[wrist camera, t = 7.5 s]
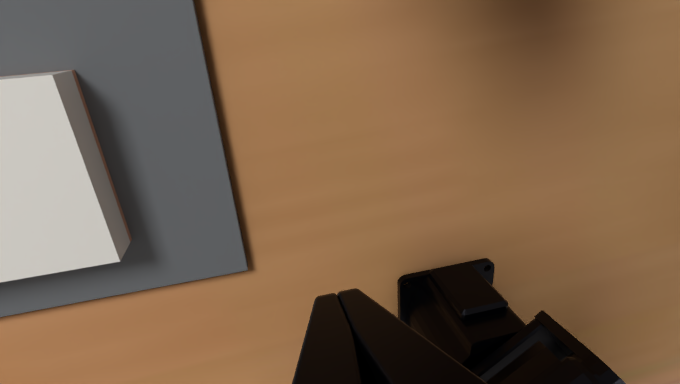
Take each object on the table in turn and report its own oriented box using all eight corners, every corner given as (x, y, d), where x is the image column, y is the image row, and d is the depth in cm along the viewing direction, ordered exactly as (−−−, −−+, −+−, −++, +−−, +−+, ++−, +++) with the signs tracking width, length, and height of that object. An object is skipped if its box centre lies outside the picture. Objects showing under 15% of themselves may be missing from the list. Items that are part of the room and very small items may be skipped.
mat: (247, 264, 21) (247, 270, 21) (-136, 335, 18) (-147, 344, 18) (177, -78, 15) (175, -82, 14) (-433, -59, 12) (-466, -64, 11)
